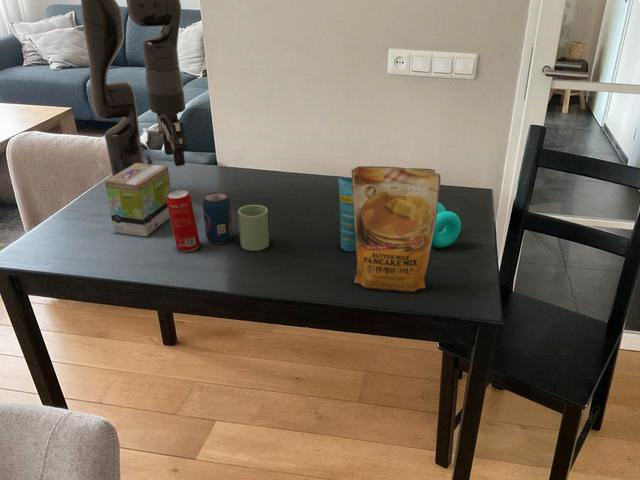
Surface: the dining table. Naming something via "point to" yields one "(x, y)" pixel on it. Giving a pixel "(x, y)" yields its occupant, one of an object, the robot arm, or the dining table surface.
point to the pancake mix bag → (394, 225)
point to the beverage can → (183, 220)
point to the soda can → (217, 217)
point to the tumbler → (253, 227)
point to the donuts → (450, 228)
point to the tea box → (139, 198)
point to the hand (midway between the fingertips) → (175, 159)
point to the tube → (347, 214)
